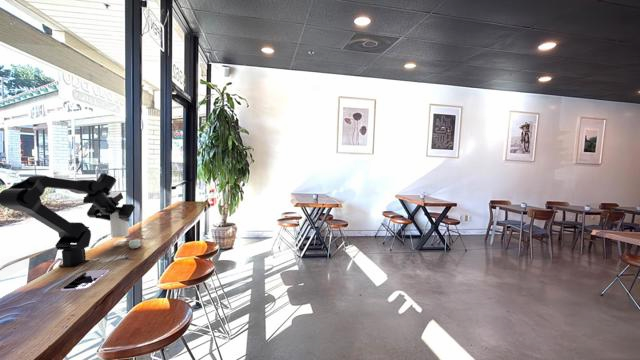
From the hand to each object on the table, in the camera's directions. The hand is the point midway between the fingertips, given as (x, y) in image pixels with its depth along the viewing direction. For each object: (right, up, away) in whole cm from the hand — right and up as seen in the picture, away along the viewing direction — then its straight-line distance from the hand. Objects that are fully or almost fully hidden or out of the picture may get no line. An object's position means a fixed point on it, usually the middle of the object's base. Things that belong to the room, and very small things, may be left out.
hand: (121, 220), depth 135 cm
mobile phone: (+15, -15, -38) cm, 44 cm away
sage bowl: (+9, -12, -4) cm, 15 cm away
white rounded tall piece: (0, -7, -1) cm, 7 cm away
